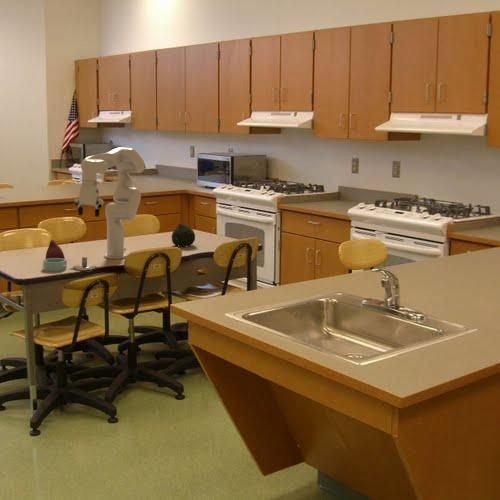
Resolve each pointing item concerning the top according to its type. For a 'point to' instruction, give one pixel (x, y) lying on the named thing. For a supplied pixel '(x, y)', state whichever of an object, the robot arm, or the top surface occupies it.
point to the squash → (183, 235)
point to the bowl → (54, 264)
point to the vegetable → (54, 251)
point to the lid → (84, 265)
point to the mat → (79, 270)
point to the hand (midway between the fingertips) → (88, 215)
